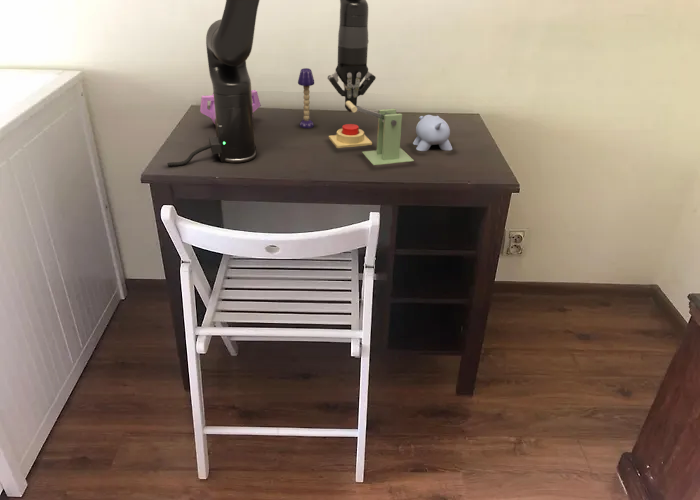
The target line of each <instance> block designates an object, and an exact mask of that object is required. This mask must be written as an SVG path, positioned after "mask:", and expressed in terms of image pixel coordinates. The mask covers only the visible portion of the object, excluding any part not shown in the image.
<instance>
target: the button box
mask: <svg viewBox="0 0 700 500" xmlns="http://www.w3.org/2000/svg"><path fill="white" fill-rule="evenodd" d="M328 139H329V140H330V142H331V143H332V144H333V145H334V146H335V148H336V149H342V148H344V149H345V148H353V147H363V146H372V145H373V142H372V140H370V139H369V137H368V136H367V135H366V134H365V131H364V130H363V129H360V128H359V133H358V134H357V135H345V134H342V128H339V129H337V131H336V134H334V135H328Z"/></svg>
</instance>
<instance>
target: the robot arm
mask: <svg viewBox="0 0 700 500" xmlns="http://www.w3.org/2000/svg"><path fill="white" fill-rule="evenodd" d="M260 1H261V0H225V5H224V9H223V12H222V16H221V19H217V20H215V21H213V23H211V24H210V25H209V27H208V29H207V30H206V31H207V32H206V34H205V35H206V36H205V47H206V56H207V64H208V65H207V66H208V72H209V73H208V74H209V77H210V80H211V81H210V82H211V85H212V95H213V94H214V105H215V116H216V118H215V124H214V125H215V136H210V137H208V143H209V144H207V145H204V146H202V147H199V148H197V149H195V150H194V151H192V152H191V153H190V154H189V155H188V157H187V158H186V159H184V160H182V161H176V162H175V161H173V162H167V167H180V166H184V165H187V164H189V163H190V162H191V161H192V159H193V158H194V157H195V156H196V155H198V154H200V153H202V152H204V151H207V150H209V149H210V151H211V154H212V155H217V154H218V158H219V160H220V162H221V163H230V164H231V163H232V164H237V163H238V164H240V163H246V162H249V161H252V160H254V159H255V158H256V155H257V147H256V143H255V142H256V141H255V127H254V126H255V125H254V112H253V108H252V103H253V101H252V80H251V77H250V75H249V71H248V67H247V60H248V58H249V57H250V55H251V53H252V50H253V45H254V38H255V30H256V22H257V21H256V20H257V15H258V10H259V9H258V8H259V5H260ZM339 3H340V4H339V25H338V32H337V33H338V35H337V38H338V39H337V65H336V67H335V71H334V73H332V74H331V75H328V76H327V80H328V82H330V84H331V85H332V87H333V88H334V89H335V90H336V92H337V93H338V94H339V95H340V96H341V97H344V108H345V109H346V111H347V112H348V113H353V112H352V111H351V110H350V109H349V108H348V107H347V106H346V102H347V101H350V102H351V103H353V104H354V105H356V106H358V104H357V103H358V97H360V96H363V95H365V93H366V92H367V91H368V90H369V88H370V87H371V86H372V85H373V83H374V81H376V78H377V77H376V76H375V75H374V74H373V73H371V72H370V71H369V68H368V65H367V64H368V49H369V48H368V47H369V4H368V1H367V0H339ZM339 80H340V81H341V82H342V84H343V88H344V89H343V88H342V87H341V86H340V84H339V83H338V82H339Z"/></svg>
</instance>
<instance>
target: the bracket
mask: <svg viewBox="0 0 700 500" xmlns="http://www.w3.org/2000/svg"><path fill="white" fill-rule="evenodd" d="M385 112H387V113H390V114H389V115H384V114H385ZM377 113H380V114H383V115H384V122H383V121H382V119H380V118H377V132H376V134H377V135H376V150H365V151H361V153H362V154H363V155H364V157H365V159H367V160H368V161H369V162H370V163H371V164H372V166H382V165H391V164H403V163H409V162H410V163H411V162H415V160H414V159H413V158H412V157H411V156H410V155H409V154H408V153H407V152H406V151H405V150H403V148H402V147H401V137H402V123H403V114H402V113H397V109H396V108H385V109H378V112H377Z"/></svg>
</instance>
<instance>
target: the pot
mask: <svg viewBox="0 0 700 500" xmlns="http://www.w3.org/2000/svg"><path fill="white" fill-rule="evenodd" d="M251 91H252V108H253V113H255V112H256V111H257V110H258V109H259V108H260V107H261V106H262V105H261V101H260V98H259V94H258V91H257V90H256V89H251ZM208 102H210V103H209V108H208ZM199 112H200V113H201V114H202V115H203V116H205V117H208V118H210V120H211V121H212V123H213V124H214V125H215V118H216V116H215V105H214V94H213V93H212V95H201V98H200V108H199Z"/></svg>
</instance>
